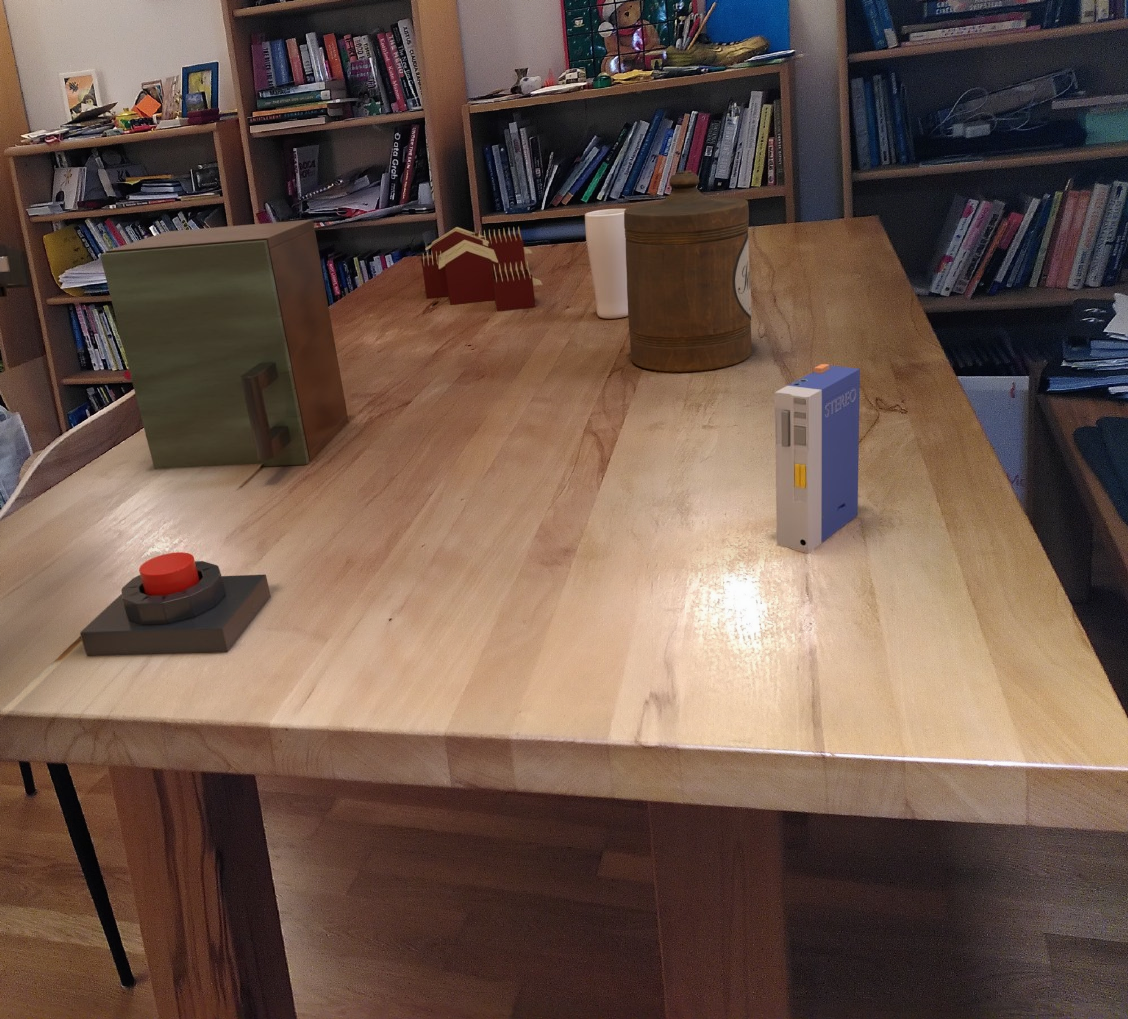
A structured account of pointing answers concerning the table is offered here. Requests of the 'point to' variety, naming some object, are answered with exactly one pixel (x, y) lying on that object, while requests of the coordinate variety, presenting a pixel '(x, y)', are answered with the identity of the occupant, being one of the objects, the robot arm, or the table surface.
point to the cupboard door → (207, 354)
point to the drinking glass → (608, 261)
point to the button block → (178, 616)
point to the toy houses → (480, 269)
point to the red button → (169, 574)
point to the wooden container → (688, 280)
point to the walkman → (816, 456)
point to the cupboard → (288, 314)
